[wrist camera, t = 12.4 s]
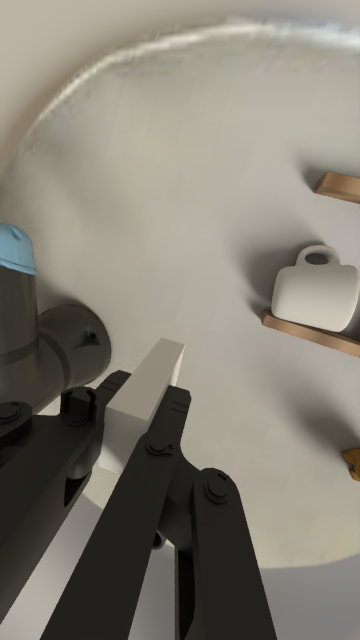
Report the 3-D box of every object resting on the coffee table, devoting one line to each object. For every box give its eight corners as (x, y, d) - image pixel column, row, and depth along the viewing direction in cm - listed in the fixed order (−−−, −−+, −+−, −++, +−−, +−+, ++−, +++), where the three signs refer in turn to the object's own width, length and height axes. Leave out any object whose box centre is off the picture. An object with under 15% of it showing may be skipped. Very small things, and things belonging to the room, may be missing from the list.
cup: (286, 226, 27) (365, 229, 25) (277, 258, 35) (337, 262, 32) (273, 312, 26) (357, 324, 23) (266, 327, 33) (330, 337, 31)
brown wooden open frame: (260, 319, 34) (262, 326, 31) (319, 179, 28) (330, 169, 25) (370, 355, 32) (384, 367, 29) (460, 212, 26) (492, 206, 23)
